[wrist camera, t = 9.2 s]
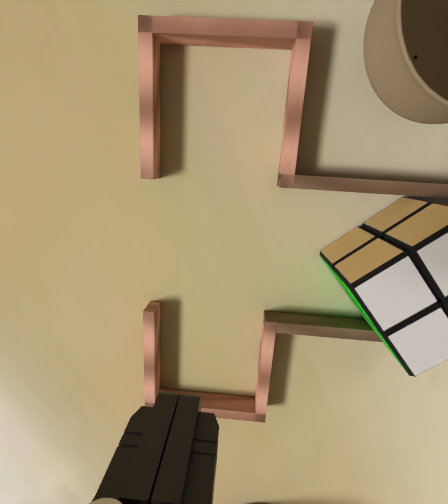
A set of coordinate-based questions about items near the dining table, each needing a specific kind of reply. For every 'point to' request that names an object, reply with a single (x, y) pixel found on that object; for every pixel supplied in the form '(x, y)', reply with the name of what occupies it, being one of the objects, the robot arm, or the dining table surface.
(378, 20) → the bowl
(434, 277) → the puzzle cube
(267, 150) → the dining table surface
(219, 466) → the dining table surface
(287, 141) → the bent wall strips
